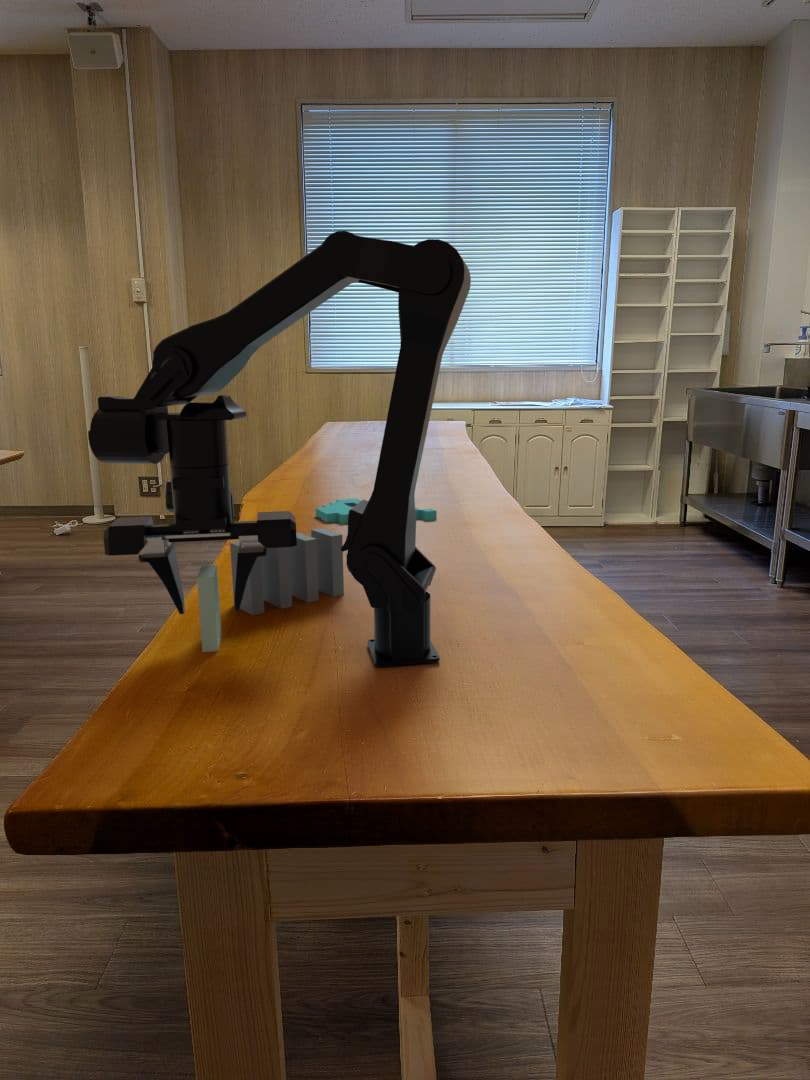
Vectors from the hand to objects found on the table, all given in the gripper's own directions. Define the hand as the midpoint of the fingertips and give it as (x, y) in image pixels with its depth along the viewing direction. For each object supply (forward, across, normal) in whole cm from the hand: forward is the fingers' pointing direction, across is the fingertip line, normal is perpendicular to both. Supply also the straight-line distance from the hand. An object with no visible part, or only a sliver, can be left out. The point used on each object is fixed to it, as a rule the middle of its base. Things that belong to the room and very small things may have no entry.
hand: (210, 611), depth 77 cm
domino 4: (+4, -14, -16) cm, 21 cm away
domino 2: (+4, -7, -13) cm, 15 cm away
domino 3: (+4, -10, -14) cm, 18 cm away
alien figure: (+4, -25, -66) cm, 70 cm away
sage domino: (+4, 0, 0) cm, 4 cm away
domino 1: (+4, -4, -11) cm, 12 cm away
